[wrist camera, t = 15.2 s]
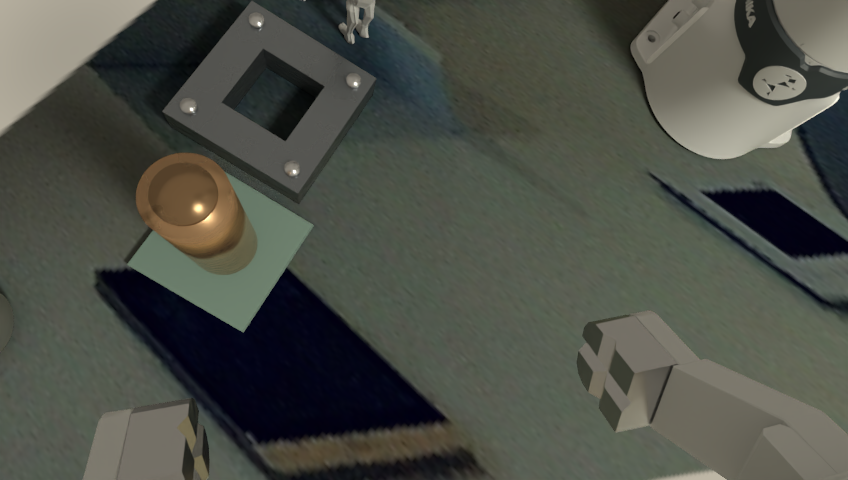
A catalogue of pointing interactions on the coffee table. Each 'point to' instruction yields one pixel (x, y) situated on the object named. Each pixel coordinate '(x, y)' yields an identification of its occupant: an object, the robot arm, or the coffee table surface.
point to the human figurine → (353, 4)
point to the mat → (238, 291)
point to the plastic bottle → (5, 322)
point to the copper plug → (197, 212)
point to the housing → (236, 73)
